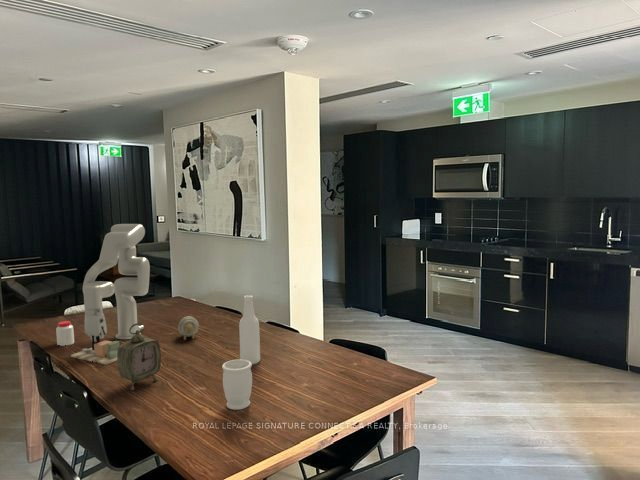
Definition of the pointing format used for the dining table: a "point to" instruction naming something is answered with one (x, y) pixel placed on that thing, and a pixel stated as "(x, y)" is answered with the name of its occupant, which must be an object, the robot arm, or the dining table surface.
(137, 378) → the tabletop clock
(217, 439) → the dining table surface
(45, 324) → the dining table surface
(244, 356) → the alcohol
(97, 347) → the block
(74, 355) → the rail board
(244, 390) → the jar
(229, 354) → the dining table surface
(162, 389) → the dining table surface
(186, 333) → the toy sheep
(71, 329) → the pill bottle
